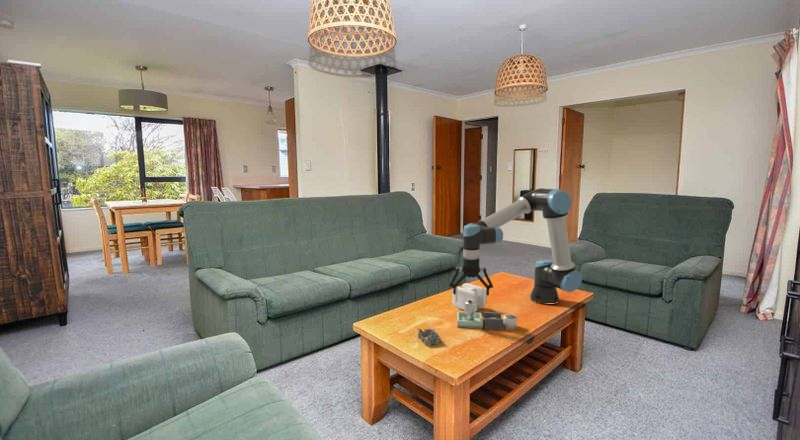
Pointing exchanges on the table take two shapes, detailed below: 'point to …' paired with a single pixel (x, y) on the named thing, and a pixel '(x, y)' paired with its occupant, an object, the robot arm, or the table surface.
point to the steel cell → (469, 310)
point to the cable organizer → (469, 296)
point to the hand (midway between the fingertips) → (470, 301)
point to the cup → (509, 321)
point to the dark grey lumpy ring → (428, 336)
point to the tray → (469, 324)
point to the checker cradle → (493, 320)
